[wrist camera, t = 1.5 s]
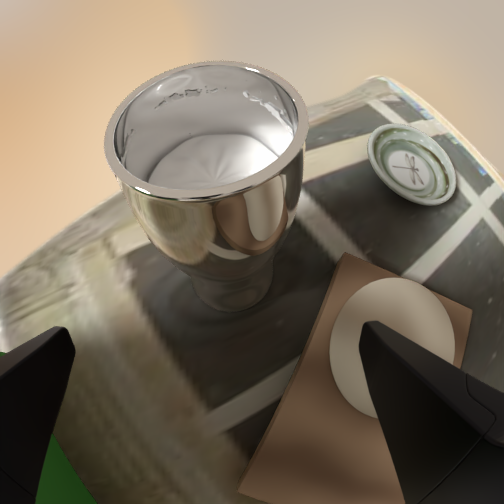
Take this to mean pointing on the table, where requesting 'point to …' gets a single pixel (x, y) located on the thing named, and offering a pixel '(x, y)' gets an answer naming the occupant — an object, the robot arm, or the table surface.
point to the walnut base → (347, 393)
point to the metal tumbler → (213, 172)
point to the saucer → (412, 164)
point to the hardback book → (60, 479)
